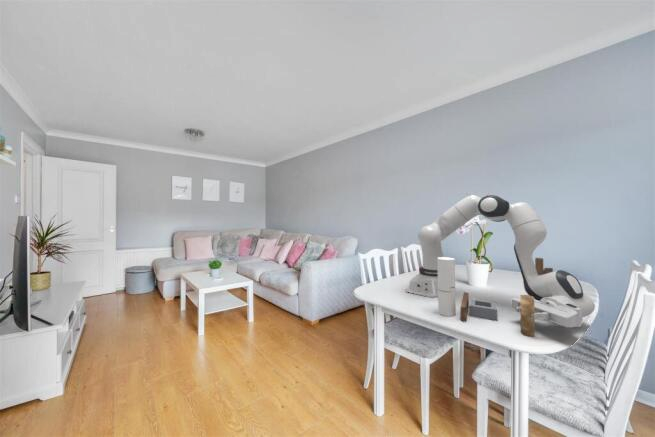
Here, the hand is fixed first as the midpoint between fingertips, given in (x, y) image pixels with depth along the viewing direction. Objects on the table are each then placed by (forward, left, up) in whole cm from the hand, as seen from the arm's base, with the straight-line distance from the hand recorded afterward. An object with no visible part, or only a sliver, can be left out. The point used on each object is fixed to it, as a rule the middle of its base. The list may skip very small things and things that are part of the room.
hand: (525, 312), depth 92 cm
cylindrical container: (-27, +8, -8) cm, 30 cm away
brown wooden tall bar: (+1, +1, -8) cm, 8 cm away
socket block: (-13, +14, -8) cm, 21 cm away
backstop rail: (-20, +13, -8) cm, 25 cm away
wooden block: (+16, +67, -8) cm, 69 cm away
